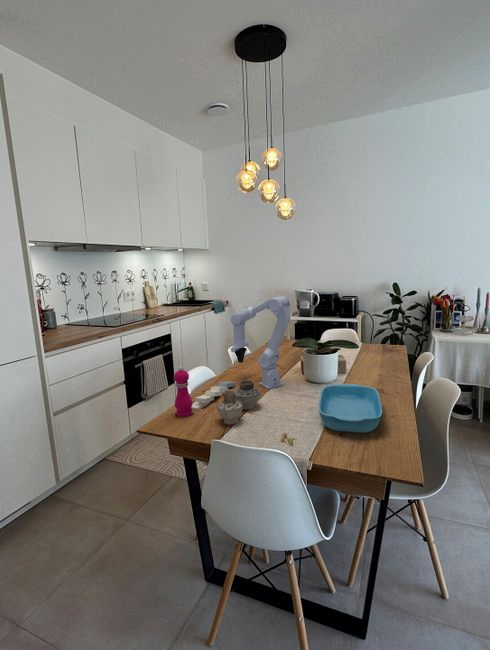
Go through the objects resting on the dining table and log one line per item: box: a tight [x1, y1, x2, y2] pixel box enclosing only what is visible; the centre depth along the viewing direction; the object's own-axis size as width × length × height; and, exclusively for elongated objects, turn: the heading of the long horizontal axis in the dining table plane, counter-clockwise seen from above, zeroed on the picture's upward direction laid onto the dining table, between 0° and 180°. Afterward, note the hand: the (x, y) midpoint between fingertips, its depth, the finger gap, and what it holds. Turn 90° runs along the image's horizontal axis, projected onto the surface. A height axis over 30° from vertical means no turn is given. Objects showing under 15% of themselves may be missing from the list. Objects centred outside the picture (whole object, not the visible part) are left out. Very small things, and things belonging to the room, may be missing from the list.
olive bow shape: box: [280, 432, 297, 446], centre depth 118 cm, size 5×5×2 cm
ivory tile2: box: [209, 386, 229, 392], centre depth 163 cm, size 2×5×9 cm
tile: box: [204, 390, 223, 397], centre depth 158 cm, size 2×5×9 cm
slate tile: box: [217, 381, 237, 388], centre depth 169 cm, size 2×5×9 cm
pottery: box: [216, 379, 262, 425], centre depth 140 cm, size 11×25×12 cm, turn 154°
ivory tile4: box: [194, 394, 215, 403], centre depth 152 cm, size 2×5×9 cm
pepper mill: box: [173, 366, 194, 418], centre depth 141 cm, size 7×7×20 cm
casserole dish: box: [317, 383, 383, 434], centre depth 134 cm, size 37×22×7 cm, turn 164°
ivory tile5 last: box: [191, 401, 211, 412], centre depth 151 cm, size 2×5×9 cm
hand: (240, 362), depth 181 cm, fingers closed
